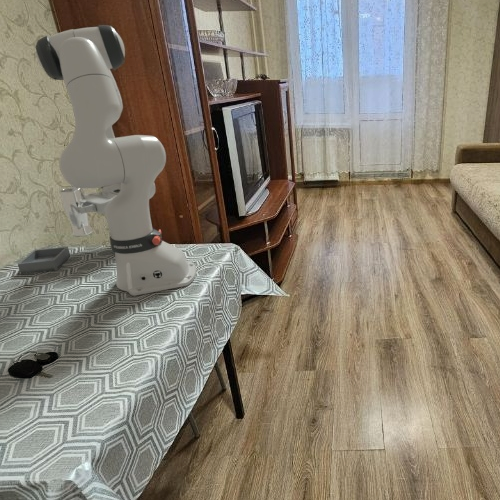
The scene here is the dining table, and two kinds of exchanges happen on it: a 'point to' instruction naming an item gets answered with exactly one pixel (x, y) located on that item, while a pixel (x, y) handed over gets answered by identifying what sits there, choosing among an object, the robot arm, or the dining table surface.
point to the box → (44, 260)
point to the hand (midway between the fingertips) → (73, 209)
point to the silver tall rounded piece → (76, 210)
